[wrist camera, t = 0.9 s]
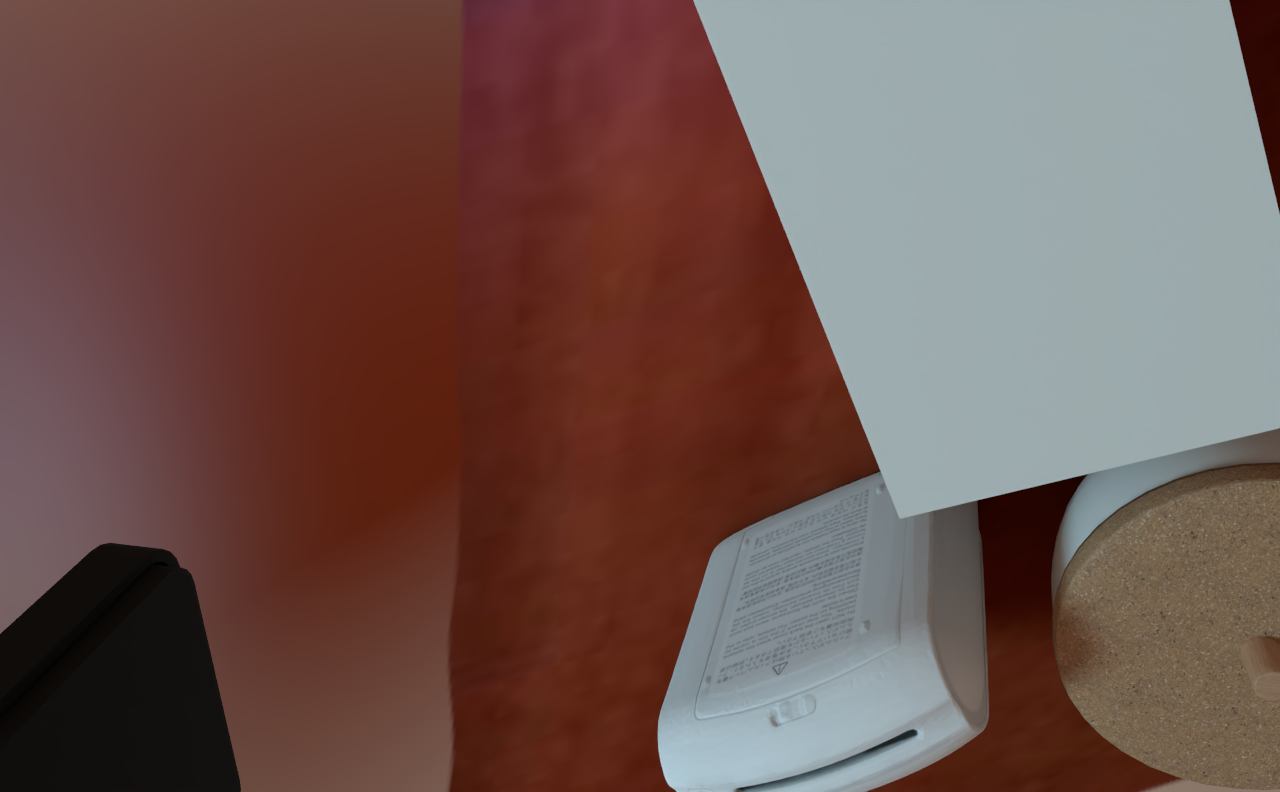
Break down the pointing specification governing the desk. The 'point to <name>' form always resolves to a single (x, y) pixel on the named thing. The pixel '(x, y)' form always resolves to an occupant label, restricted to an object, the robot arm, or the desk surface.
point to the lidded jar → (1177, 610)
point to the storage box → (1020, 226)
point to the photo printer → (831, 649)
